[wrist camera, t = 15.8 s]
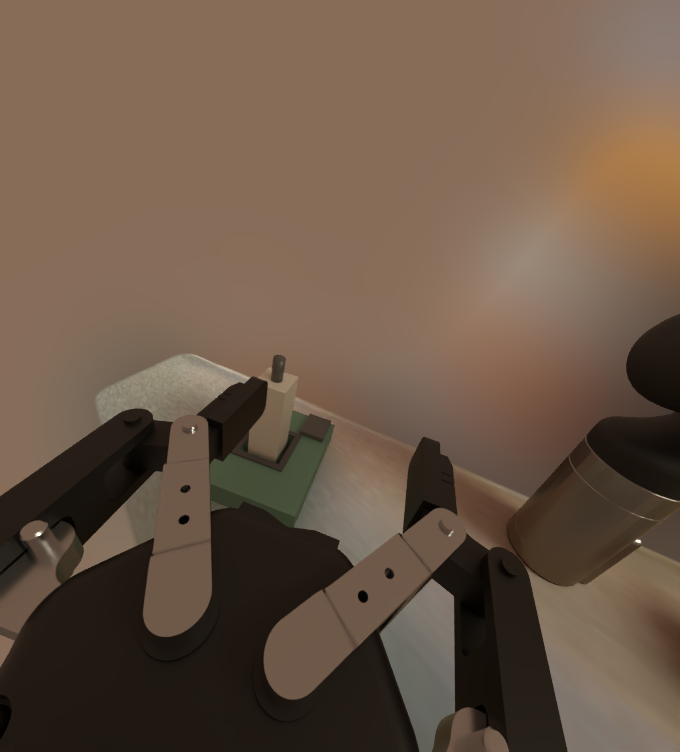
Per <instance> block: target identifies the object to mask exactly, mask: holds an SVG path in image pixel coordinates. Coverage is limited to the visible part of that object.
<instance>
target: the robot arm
mask: <svg viewBox="0 0 680 752" xmlns="http://www.w3.org/2000/svg"><path fill="white" fill-rule="evenodd" d="M626 371H627V375H628V379H629V381H630V383H631V384H632V386H633V387H634V388H635V390H636V391H637V392H638V393H639V394H640V395H642V396H643V397H644V398H646V399H647V400H649V401H651V402H653V403H655V404H657V405H660V406H661V407H664V408H667V409H669V410H673V411H675V412H674V413H672V414H668V415H664V416H657V417H642V418H640V417H619V416H618V417H608V418H605V419H603V420H601V421H599V422H598V423H597V424H596V425H595V426H594V427H593V428H592V429H591V431H590V432H589V433H588V434H587V435H586V436H585V437H584V438H583V439H582V441H581V442H580V443H579V444H578V445H577V446H576V447H575V448H574V449H573V451H572V452H571V453H570V454H569V455H568V456H567V457H566V458H565V460H564V461H563V462H562V463H561V464H560V465H559V466H558V467H557V468H556V469H555V471H554V472H553V473H552V474H551V475H550V476H549V477H548V478H547V479H546V480H545V482H544V483H543V484H542V485H541V486H540V487H539V488H538V489H537V490H536V492H535V493H534V494H533V495H532V496H531V497H530V498H529V499H528V500H527V501H526V503H525V504H524V505H523V506H522V507H521V508H520V509H519V510H518V511H517V512H516V514H515V515H514V516H513V517H512V518H511V519H510V520H509V522H508V526H507V531H508V536H509V539H510V541H511V543H512V545H513V547H514V549H515V550H516V552H517V553H518V554H519V556H520V557H521V558H522V559H523V561H524V562H525V563H526V564H527V565H528V566H529V567H530V568H531V569H533V570H534V571H535V572H536V573H538V574H539V575H540V576H542V577H543V578H545V579H547V580H548V581H550V582H552V583H555V584H558V585H561V586H573V585H574V584H576V583H578V582H580V583H584V584H588V583H589V582H591V581H592V580H594V579H595V578H596V577H598V576H599V575H601V574H602V573H604V572H605V571H606V570H608V569H609V568H611V567H612V566H613V565H615V564H616V563H618V562H619V561H621V560H622V559H623V558H625V557H626V556H628V555H629V554H631V553H632V552H633V551H635V550H636V549H638V548H639V547H640V546H641V545H642V542H641V539H640V537H641V536H643V535H644V534H645V533H647V532H648V531H650V530H651V529H652V528H654V527H655V526H657V525H658V524H659V523H661V522H662V521H664V520H665V519H666V518H667V517H669V516H670V515H671V514H673V513H674V512H676V511H677V510H678V509H680V314H679V315H676V316H674V317H671V318H669V319H667V320H665V321H663V322H661V323H659V324H658V325H656V326H654V327H653V328H651V329H650V330H648V331H647V332H646V333H645V334H643V335H642V336H641V337H640V338H639V339H638V340H637V341H636V343H635V344H634V345H633V347H632V348H631V350H630V352H629V355H628V358H627V363H626ZM267 389H268V382H267V381H265V380H262V379H259V378H256V377H251V378H250V379H249V380H248V381H247V382H246V383H245V384H243V383H237V384H234V385H232V386H230V387H229V388H227V389H226V390H225V391H224V392H223V393H222V394H220V395H219V396H218V398H216V399H215V400H213V401H212V402H211V403H210V404H209V405H208V406H206V407H205V408H204V409H203V410H202V411H201V412H199V413H198V414H197V415H187V416H183V417H181V418H179V419H177V420H176V421H174V422H167V421H157V420H153V415H152V413H151V412H149V411H148V410H145V409H130V410H126V411H123V412H121V413H119V414H117V415H116V416H115V417H113V418H112V419H110V420H109V421H107V422H106V423H104V424H103V425H102V426H100V427H99V428H97V429H96V430H95V431H93V432H92V433H90V434H89V435H87V436H86V437H85V438H83V439H82V440H80V441H79V442H77V443H76V444H74V445H73V446H72V447H70V448H69V449H67V450H66V451H64V452H63V453H62V454H60V455H59V456H57V457H56V458H54V459H53V460H52V461H50V462H49V463H47V464H46V465H44V466H43V467H41V468H40V469H39V470H37V471H36V472H34V473H33V474H32V475H30V476H29V477H27V478H26V479H24V480H23V481H22V482H20V483H19V484H17V485H16V486H14V487H13V488H11V489H10V490H9V491H7V492H6V493H4V494H3V495H1V496H0V635H2V636H5V637H7V638H10V639H13V640H15V642H14V644H13V646H12V648H11V650H10V652H9V654H8V655H7V657H6V659H5V661H4V663H3V664H2V666H1V667H0V752H419V749H418V744H417V740H416V736H415V733H414V730H413V727H412V724H411V721H410V718H409V716H408V713H407V710H406V707H405V704H404V702H403V699H402V696H401V693H400V690H399V687H398V685H397V682H396V679H395V676H394V673H393V671H392V668H391V665H390V662H389V659H388V657H387V654H386V651H385V648H384V645H383V642H382V640H381V637H380V633H381V632H382V631H383V630H384V629H385V628H386V626H387V625H388V624H389V623H390V622H391V621H392V620H393V619H394V618H395V617H396V616H397V615H398V614H399V613H400V611H401V610H402V609H403V608H404V607H405V606H406V605H407V604H408V603H409V602H410V601H411V600H412V599H413V598H414V597H415V596H416V595H417V594H418V593H419V592H420V591H421V590H422V589H423V587H424V586H425V585H426V584H427V583H428V582H429V581H430V580H431V579H433V580H435V581H436V582H437V583H438V584H440V585H441V586H442V587H443V588H445V589H446V590H447V591H448V592H450V593H451V594H452V595H453V596H454V634H455V713H453V714H451V715H448V716H446V717H445V718H443V719H442V720H441V721H440V723H439V725H438V727H437V730H436V734H435V741H434V747H433V750H432V752H568V751H567V747H566V742H565V738H564V733H563V729H562V724H561V720H560V715H559V710H558V706H557V701H556V697H555V692H554V688H553V683H552V679H551V674H550V670H549V665H548V660H547V656H546V651H545V647H544V642H543V638H542V633H541V629H540V624H539V619H538V615H537V610H536V606H535V601H534V597H533V592H532V588H531V583H530V578H529V575H528V572H527V570H526V568H525V566H524V565H523V564H522V562H521V561H520V560H519V559H518V558H517V557H516V556H515V555H514V554H513V553H511V552H510V551H508V550H506V549H504V548H501V547H494V548H492V549H491V550H490V551H489V550H488V549H486V548H485V547H484V546H482V545H481V544H479V543H478V542H476V541H475V540H474V539H472V538H471V537H470V536H469V535H468V534H467V533H466V530H465V527H464V524H463V523H462V521H461V520H460V519H459V517H458V516H457V508H456V497H455V486H454V478H453V476H454V475H453V466H452V464H451V462H450V460H449V459H448V457H447V456H444V455H441V454H440V443H439V442H437V441H434V440H431V439H429V438H426V437H423V438H422V439H421V441H420V443H419V445H418V447H417V449H416V451H415V453H414V455H413V457H412V459H411V462H410V465H409V469H408V479H407V490H406V502H405V513H404V525H403V534H402V535H401V534H400V533H398V534H396V535H395V536H393V537H392V538H391V539H389V540H388V541H387V542H386V543H384V544H383V545H382V546H380V547H379V548H378V549H376V550H375V551H374V552H373V553H371V554H370V555H369V556H367V557H366V558H365V559H364V560H362V561H361V562H360V563H358V564H357V565H356V566H353V565H352V563H351V562H350V561H349V559H348V558H347V557H346V556H345V555H344V554H343V553H342V552H341V551H340V550H338V549H337V548H338V545H339V540H337V539H335V538H332V537H330V536H327V535H325V534H322V533H320V532H317V531H315V530H307V529H299V528H292V527H287V526H286V525H284V524H283V523H282V522H280V521H279V520H278V519H277V518H275V517H274V516H273V515H271V514H270V513H269V512H267V511H266V510H264V509H261V508H259V507H256V506H254V505H252V504H249V503H247V502H244V501H243V502H242V504H241V505H240V507H239V508H225V509H219V510H215V511H212V512H211V488H210V464H211V462H212V461H213V460H214V459H217V460H219V461H222V462H223V461H224V460H225V459H226V458H227V456H228V455H229V454H230V453H231V452H232V450H233V449H234V448H235V447H236V446H237V445H238V443H239V442H240V441H241V440H242V439H243V437H244V436H245V435H246V434H247V433H248V431H249V430H250V429H251V428H252V427H253V426H254V424H255V423H256V422H257V421H258V420H259V418H260V417H261V416H262V414H263V412H264V410H265V407H266V400H267ZM155 471H160V472H163V473H162V481H161V489H160V497H159V505H158V514H157V522H156V530H155V538H153V539H150V540H148V541H146V542H144V543H142V544H140V545H138V546H135V547H133V548H131V549H129V550H127V551H125V552H122V553H120V554H118V555H116V556H114V557H112V558H110V559H108V560H105V561H103V562H101V563H99V564H97V565H95V566H92V567H90V568H88V569H86V570H84V571H82V572H80V573H78V574H76V575H74V576H73V577H71V578H70V576H71V575H72V574H73V571H74V569H75V568H76V567H77V566H78V564H79V563H80V561H81V559H82V556H83V552H84V551H83V550H84V549H83V545H84V544H85V543H86V542H87V541H88V540H89V538H90V537H91V536H92V535H93V534H94V533H95V532H96V531H97V530H98V529H99V528H100V527H101V526H102V525H103V524H104V523H105V522H106V521H107V520H108V519H109V518H110V517H111V516H112V515H113V514H114V513H115V512H116V511H117V510H118V508H120V507H121V506H122V505H123V504H124V503H125V502H126V501H127V500H128V499H129V498H130V496H131V495H132V494H133V493H134V492H135V491H136V490H137V489H138V488H139V487H140V486H141V485H142V484H143V483H144V482H145V481H146V480H147V479H148V478H149V477H150V476H151V475H152V474H153V473H154V472H155Z"/></svg>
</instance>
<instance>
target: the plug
mask: <svg viewBox="0 0 680 752" xmlns="http://www.w3.org/2000/svg"><path fill="white" fill-rule="evenodd" d="M285 360H286V358H285V357H284V356H281V355H275V356H274V357H273V365H272V368H270V367H269V368H268V369H267V370H266V371H265V372H264V373H263V374H262V375H260V376H259V377H258V378H259V379H262V380H265V381H267V382H268V389H267V400H266V407H265V410H264V412H263V414H262V416H261V417H260V418H259V420H258V421H257V422H256V423H255V424H254V426H253V427H252V428H251V429H250V430H249V442H248V453H250V454H253V455H256V456H258V457H261V458H264V459H267V460H269V461H272V462H275V463H277V464H279V462H280V461H281V459H282V457H283V456H284V454H285V451H286V445H287V439H288V433H289V428H290V422H291V416H292V411H293V405H294V399H295V393H296V387H297V382H298V377H296V376H293V375H290V374H287V373H285V372H284V367H285Z"/></svg>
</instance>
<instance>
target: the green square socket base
mask: <svg viewBox="0 0 680 752" xmlns="http://www.w3.org/2000/svg"><path fill="white" fill-rule="evenodd" d="M330 423H331V421H329V420H327V419H324V418H321V417H318V416H315V415H312V414H310V415H309V416H307V415H304V414H302V413H299V412H296V411H292V416H291V422H290V428H289V433H288V439H287V445H286V452H285V454H284V456H283V457H282V459H281V461H280V462H279V464H277V463H275V462H272V461H269V460H267V459H264V458H261V457H258V456H256V455H253V454H250V453H248V442H249V431H248V433H247V434H246V435H245V436H244V437H243V439H242V440H241V441H240V442H239V443H238V445H237V446H236V447H235V448H234V449H233V450H232V452H231V453H230V454H229V455H228V456H227V458H226V459H225V460H224V461H223V462H222V461H219V460H217V459H214V460H213V461H212V462H211V464H210V488H211V500H213V501H216V502H218V503H221V504H223V505H226V506H228V507H231V508H239V507H240V505H241V504H242V502H243V501H244V502H247V503H249V504H252V505H254V506H256V507H259V508H261V509H264V510H266V511H267V512H269V513H270V514H271V515H273V516H274V517H275V518H277V519H278V520H279V521H280V522H282V523H283V524H284V525H286V526H287V527H292V528H293V527H294V525H295V522H296V520H297V518H298V515H299V513H300V510H301V508H302V506H303V503H304V501H305V499H306V496H307V494H308V491H309V489H310V487H311V484H312V482H313V480H314V477H315V475H316V472H317V470H318V468H319V465H320V463H321V461H322V458H323V456H324V454H325V451H326V449H327V446H328V444H329V442H330V439H331V436H332V433H333V429H334V426H335V425H333V424H330Z"/></svg>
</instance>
